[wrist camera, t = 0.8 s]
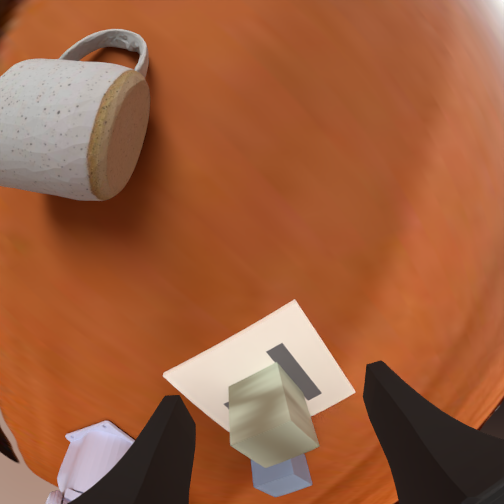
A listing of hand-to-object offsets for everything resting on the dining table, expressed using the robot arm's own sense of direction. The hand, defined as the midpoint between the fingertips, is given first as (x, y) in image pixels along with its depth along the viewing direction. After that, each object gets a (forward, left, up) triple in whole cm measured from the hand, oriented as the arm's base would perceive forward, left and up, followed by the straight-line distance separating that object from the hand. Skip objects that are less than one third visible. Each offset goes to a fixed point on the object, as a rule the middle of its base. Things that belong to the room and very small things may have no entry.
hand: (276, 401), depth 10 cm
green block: (-4, -8, -10) cm, 13 cm away
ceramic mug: (-2, +16, -10) cm, 19 cm away
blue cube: (-9, -19, -10) cm, 24 cm away
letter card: (-4, -8, -10) cm, 14 cm away
